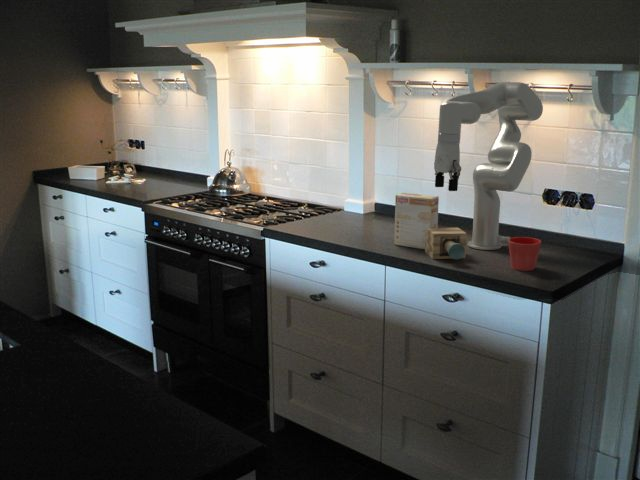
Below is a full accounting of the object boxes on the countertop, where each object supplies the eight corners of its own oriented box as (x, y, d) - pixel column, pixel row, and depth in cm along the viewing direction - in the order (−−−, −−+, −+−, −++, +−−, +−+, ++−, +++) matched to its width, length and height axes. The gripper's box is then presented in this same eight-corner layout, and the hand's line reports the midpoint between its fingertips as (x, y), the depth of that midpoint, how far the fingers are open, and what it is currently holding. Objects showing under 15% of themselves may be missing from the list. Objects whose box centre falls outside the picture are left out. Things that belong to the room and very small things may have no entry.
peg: (464, 259, 245) (465, 243, 244) (448, 259, 244) (449, 243, 243) (454, 251, 255) (455, 236, 254) (439, 252, 255) (439, 236, 253)
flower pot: (501, 269, 239) (503, 241, 237) (512, 262, 248) (514, 235, 246) (533, 274, 234) (535, 245, 231) (543, 266, 242) (545, 239, 240)
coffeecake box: (437, 246, 270) (439, 196, 265) (429, 250, 264) (431, 198, 260) (402, 241, 278) (403, 192, 274) (393, 245, 272) (395, 194, 268)
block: (465, 258, 253) (466, 233, 251) (432, 258, 252) (433, 234, 250) (456, 251, 263) (457, 227, 261) (425, 252, 261) (426, 228, 259)
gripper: (427, 137, 249) (424, 185, 252) (451, 141, 232) (448, 192, 236) (446, 137, 251) (443, 185, 254) (471, 141, 235) (468, 192, 238)
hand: (445, 188), depth 245 cm, fingers open, 9 cm apart
